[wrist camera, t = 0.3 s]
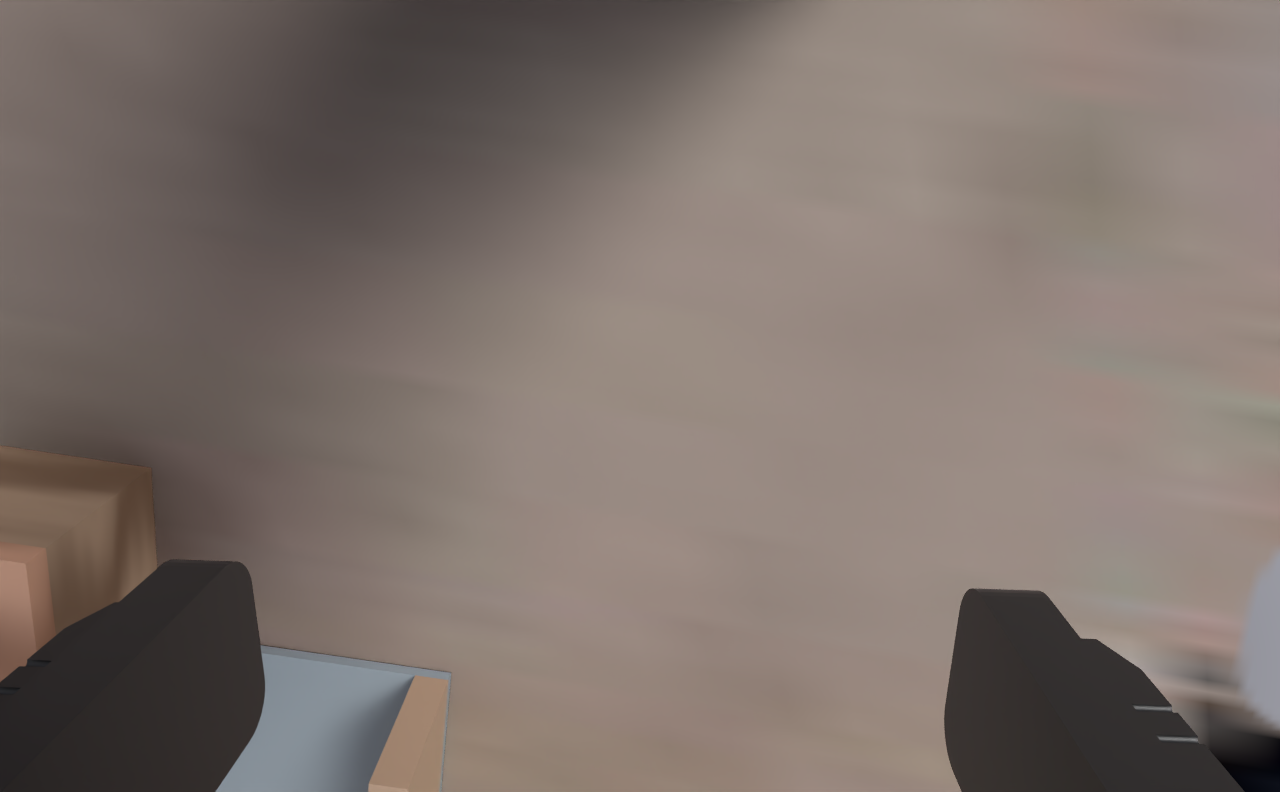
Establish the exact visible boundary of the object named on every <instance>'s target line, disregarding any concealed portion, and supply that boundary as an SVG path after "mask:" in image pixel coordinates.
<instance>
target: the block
mask: <svg viewBox="0 0 1280 792" xmlns="http://www.w3.org/2000/svg"><path fill="white" fill-rule="evenodd" d="M156 569H157V553H156V537H155V520H154V504H153V487H152V471H151V468H150V467H143V466H136V465H129V464H123V463H116V462H109V461H102V460H96V459H89V458H82V457H75V456H69V455H62V454H55V453H48V452H42V451H35V450H28V449H21V448H14V447H8V446H0V682H1V681H2V680H3V679H5V678H6V677H7V676H8V675H9V674H11V673H12V672H13V671H14V670H15V669H16V668H18V667H19V666H26V664H27V659H28V658H30V657H31V656H32V655H33V654H34V653H36V652H37V651H38V650H39V649H40V648H41V647H43V646H44V645H45V644H46V643H47V642H49V641H50V640H51V639H52V638H53V637H55V636H56V635H57V634H58V633H59V632H61V631H62V630H63V629H64V628H66V627H68V626H70V625H72V624H73V623H75V622H77V621H79V620H81V619H83V618H85V617H87V616H89V615H91V614H93V613H95V612H97V611H99V610H101V609H103V608H104V607H106V606H108V605H110V604H112V603H114V602H120V601H121V600H122V599H123V598H124V597H125V596H126V595H128V594H129V593H130V592H131V591H132V590H133V589H134V588H136V587H137V586H138V585H139V584H140V583H141V582H142V581H144V580H145V579H146V578H147V577H148V576H149V575H150V574H152V573H153V572H154V571H155V570H156Z"/></svg>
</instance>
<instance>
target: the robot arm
mask: <svg viewBox="0 0 1280 792" xmlns="http://www.w3.org/2000/svg"><path fill="white" fill-rule="evenodd" d="M264 698H265V675H264V668H263V661H262V653H261V646H260V639H259V631H258V624H257V617H256V610H255V602H254V595H253V588H252V582H251V577H250V574H249V572H248V570H247V568H246V567H245V566H244V565H243V564H242V563H240V562H232V561H203V560H169V561H167V562H165V563H163V564H162V565H161V566H160V567H158V568H157V569H156V570H155V571H154V572H153V573H152V574H150V575H149V576H148V577H147V578H146V579H145V580H144V581H142V582H141V583H140V584H139V585H138V586H137V587H136V588H134V589H133V590H132V591H131V592H130V593H129V594H128V595H126V596H125V597H124V598H123V599H122V600H121V601H120V602H114V603H112V604H110V605H108V606H106V607H104V608H103V609H101V610H99V611H97V612H95V613H93V614H91V615H89V616H87V617H85V618H83V619H81V620H79V621H77V622H75V623H73V624H72V625H70V626H68V627H66V628H64V629H63V630H62V631H61V632H59V633H58V634H57V635H56V636H55V637H53V638H52V639H51V640H50V641H49V642H47V643H46V644H45V645H44V646H43V647H41V648H40V649H39V650H38V651H37V652H36V653H34V654H33V655H32V656H31V657H30V658H28V659H27V664H26V666H19V667H18V668H16V669H15V670H14V671H13V672H12V673H11V674H9V675H8V676H7V677H6V678H5V679H3V680H2V681H1V682H0V792H216V790H217V789H218V787H219V786H220V784H221V783H222V781H223V780H224V779H225V777H226V776H227V774H228V773H229V771H230V770H231V768H232V767H233V765H234V764H235V762H236V761H237V759H238V758H239V756H240V755H241V753H242V752H243V750H244V749H245V748H246V746H247V745H248V743H249V742H250V740H251V738H252V737H253V735H254V733H255V731H256V729H257V726H258V723H259V721H260V717H261V714H262V709H263V704H264ZM944 726H945V739H946V746H947V752H948V756H949V760H950V764H951V767H952V770H953V772H954V775H955V777H956V779H957V782H958V784H959V786H960V789H961V791H962V792H1244V791H1243V789H1242V788H1241V787H1240V786H1239V785H1238V783H1237V782H1236V781H1235V780H1234V779H1233V778H1232V776H1231V775H1230V774H1229V773H1228V772H1227V770H1226V769H1225V768H1224V767H1223V766H1222V765H1221V763H1220V762H1219V761H1218V760H1217V759H1216V757H1215V756H1214V755H1213V754H1212V753H1211V752H1210V750H1209V749H1208V748H1207V747H1206V746H1205V744H1199V743H1198V740H1197V737H1198V736H1197V735H1196V734H1195V733H1194V731H1193V730H1192V729H1191V728H1190V727H1189V725H1188V724H1187V723H1186V722H1185V721H1184V720H1183V718H1182V717H1181V716H1180V715H1179V714H1178V713H1173V712H1172V705H1171V704H1170V703H1169V702H1168V701H1167V699H1166V698H1165V697H1164V696H1163V695H1162V694H1161V692H1160V691H1159V690H1158V689H1157V688H1156V686H1155V685H1154V684H1153V683H1152V682H1151V681H1150V679H1149V678H1148V677H1147V676H1146V675H1145V673H1144V672H1143V671H1142V670H1141V669H1139V668H1138V667H1137V666H1135V665H1134V664H1132V663H1131V662H1129V661H1128V660H1126V659H1125V658H1123V657H1122V656H1120V655H1119V654H1117V653H1116V652H1114V651H1113V650H1111V649H1110V648H1108V647H1107V646H1106V645H1104V644H1103V643H1101V642H1100V641H1098V640H1097V639H1081V638H1080V637H1079V636H1078V635H1077V633H1076V632H1075V631H1074V629H1073V628H1072V627H1071V626H1070V624H1069V623H1068V622H1067V620H1066V619H1065V618H1064V617H1063V615H1062V614H1061V613H1060V611H1059V610H1058V609H1057V608H1056V606H1055V605H1054V604H1053V602H1052V601H1051V600H1050V599H1049V597H1048V596H1047V595H1046V594H1045V593H1043V592H1041V591H1030V590H1001V589H969V590H968V591H967V592H966V593H965V595H964V597H963V599H962V602H961V606H960V611H959V618H958V624H957V631H956V638H955V644H954V651H953V658H952V664H951V671H950V678H949V684H948V691H947V698H946V704H945V717H944Z"/></svg>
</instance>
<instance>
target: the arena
mask: <svg viewBox="0 0 1280 792" xmlns="http://www.w3.org/2000/svg"><path fill="white" fill-rule="evenodd" d="M260 646H261V653H262V661H263V668H264V675H265V698H264V704H263V709H262V714H261V717H260V721H259V723H258V726H257V729H256V731H255V733H254V735H253V737H252V738H251V740H250V742H249V743H248V745H247V746H246V748H245V749H244V750H243V752H242V753H241V755H240V756H239V758H238V759H237V761H236V762H235V764H234V765H233V767H232V768H231V770H230V771H229V773H228V774H227V776H226V777H225V779H224V780H223V781H222V783H221V784H220V786H219V787H218V789H217V790H216V792H441V788H442V776H443V765H444V753H445V741H446V729H447V717H448V705H449V694H450V682H451V673H449V672H442V671H435V670H428V669H421V668H414V667H407V666H401V665H394V664H387V663H380V662H373V661H366V660H359V659H352V658H345V657H338V656H331V655H325V654H318V653H311V652H304V651H297V650H290V649H283V648H276V647H269V646H262V645H260Z"/></svg>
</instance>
